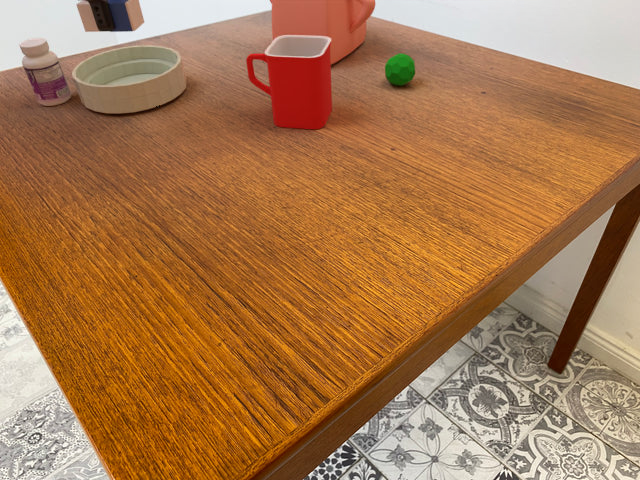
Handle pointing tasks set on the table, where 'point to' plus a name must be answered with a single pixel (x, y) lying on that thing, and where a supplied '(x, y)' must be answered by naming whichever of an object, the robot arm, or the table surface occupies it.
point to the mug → (297, 80)
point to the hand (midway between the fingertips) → (113, 24)
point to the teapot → (324, 21)
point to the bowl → (130, 79)
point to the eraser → (114, 15)
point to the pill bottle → (44, 72)
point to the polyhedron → (400, 69)
